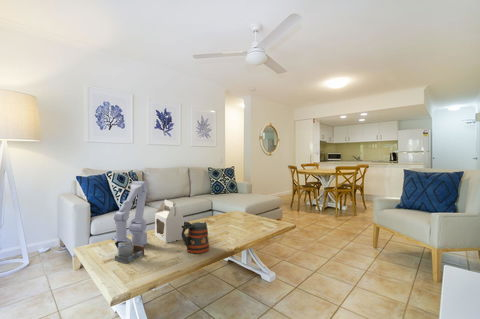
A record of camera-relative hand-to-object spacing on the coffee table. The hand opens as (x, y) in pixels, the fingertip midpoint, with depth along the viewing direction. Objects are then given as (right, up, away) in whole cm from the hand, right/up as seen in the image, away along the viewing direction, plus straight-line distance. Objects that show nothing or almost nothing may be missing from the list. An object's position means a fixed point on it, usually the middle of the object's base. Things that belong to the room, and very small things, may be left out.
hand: (121, 253), depth 138 cm
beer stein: (+44, -2, +9) cm, 45 cm away
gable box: (+18, -2, +34) cm, 39 cm away
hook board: (+1, -1, -1) cm, 2 cm away
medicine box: (+3, -1, -1) cm, 4 cm away
